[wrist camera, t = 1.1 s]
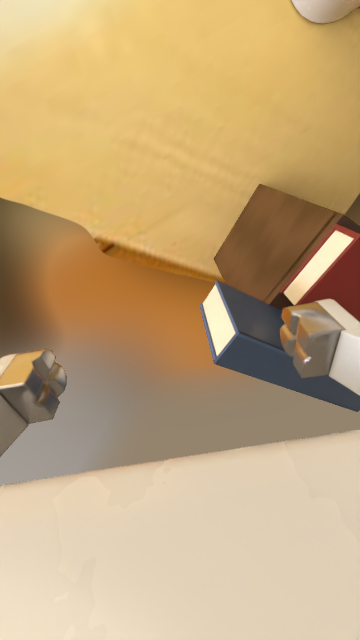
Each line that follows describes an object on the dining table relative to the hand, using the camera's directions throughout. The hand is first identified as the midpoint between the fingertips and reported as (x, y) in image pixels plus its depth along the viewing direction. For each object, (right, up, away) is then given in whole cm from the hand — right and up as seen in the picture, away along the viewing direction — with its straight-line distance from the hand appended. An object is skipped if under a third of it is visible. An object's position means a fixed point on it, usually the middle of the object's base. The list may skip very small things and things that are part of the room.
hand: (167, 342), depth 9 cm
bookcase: (+17, +18, +44) cm, 50 cm away
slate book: (+13, +1, +24) cm, 27 cm away
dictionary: (+20, +6, +21) cm, 30 cm away
